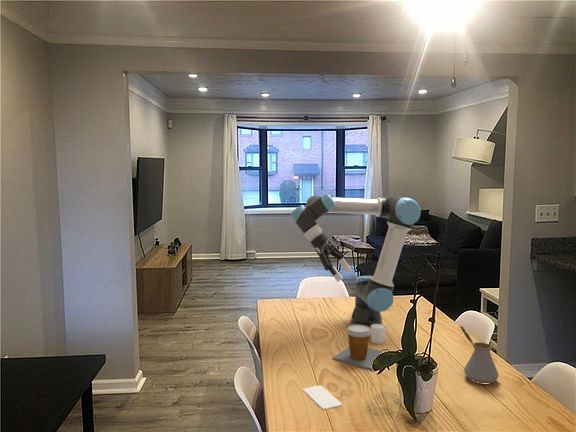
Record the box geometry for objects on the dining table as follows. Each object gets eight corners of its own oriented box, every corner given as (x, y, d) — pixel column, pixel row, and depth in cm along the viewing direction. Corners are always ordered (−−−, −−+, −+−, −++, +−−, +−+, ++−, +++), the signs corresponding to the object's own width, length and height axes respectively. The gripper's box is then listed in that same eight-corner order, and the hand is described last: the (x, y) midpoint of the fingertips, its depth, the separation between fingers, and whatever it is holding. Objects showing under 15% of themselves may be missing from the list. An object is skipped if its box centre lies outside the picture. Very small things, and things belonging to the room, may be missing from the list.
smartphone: (320, 384, 160) (343, 404, 147) (320, 386, 160) (343, 406, 147) (302, 388, 157) (323, 409, 144) (302, 390, 157) (323, 411, 144)
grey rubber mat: (353, 345, 197) (354, 343, 197) (393, 355, 186) (393, 353, 186) (332, 359, 182) (332, 357, 182) (373, 371, 172) (373, 369, 172)
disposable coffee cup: (364, 351, 188) (365, 323, 187) (374, 361, 179) (374, 331, 178) (342, 353, 186) (343, 325, 185) (351, 363, 177) (351, 333, 176)
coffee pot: (505, 386, 161) (507, 345, 159) (474, 388, 159) (476, 346, 157) (472, 361, 182) (473, 324, 180) (445, 362, 180) (446, 325, 178)
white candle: (366, 341, 202) (367, 326, 201) (375, 337, 207) (375, 322, 206) (380, 345, 197) (380, 329, 197) (388, 341, 202) (389, 325, 202)
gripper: (319, 235, 216) (346, 271, 214) (299, 247, 194) (329, 288, 192) (331, 226, 213) (358, 263, 211) (312, 238, 191) (343, 279, 188)
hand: (344, 275), depth 201 cm, fingers open, 13 cm apart
